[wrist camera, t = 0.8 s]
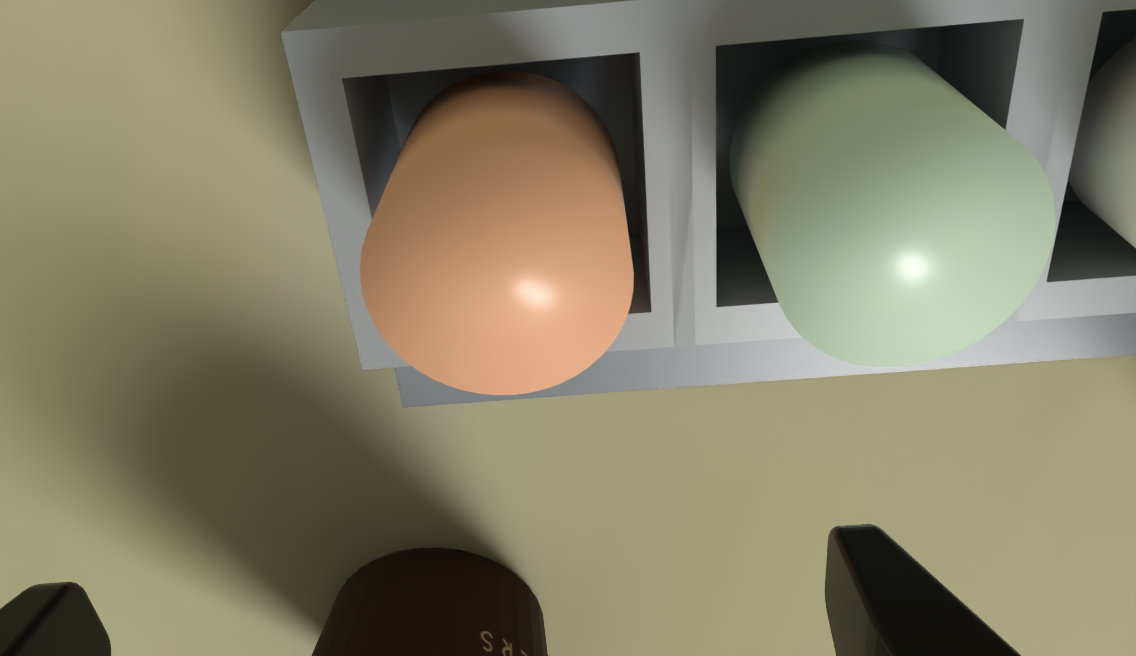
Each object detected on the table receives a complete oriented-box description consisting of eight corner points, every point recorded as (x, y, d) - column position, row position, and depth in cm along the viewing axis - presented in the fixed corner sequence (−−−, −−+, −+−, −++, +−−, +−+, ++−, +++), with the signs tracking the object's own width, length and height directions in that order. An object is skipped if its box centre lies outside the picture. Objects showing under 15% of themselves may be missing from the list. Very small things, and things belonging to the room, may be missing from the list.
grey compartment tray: (1374, -325, 16) (1634, -354, 12) (1179, 322, 23) (1305, 436, 19) (284, -215, 17) (199, -209, 13) (410, 379, 23) (380, 500, 20)
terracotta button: (612, 61, 16) (626, 141, 12) (625, 267, 18) (640, 386, 14) (382, 80, 16) (333, 166, 13) (421, 283, 18) (387, 404, 15)
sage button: (968, 30, 16) (1081, 104, 12) (938, 243, 18) (1029, 357, 14) (730, 50, 16) (776, 129, 12) (729, 259, 18) (768, 376, 14)
